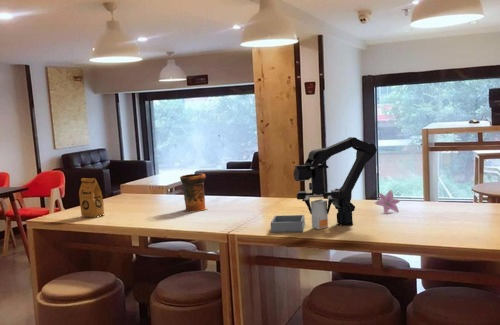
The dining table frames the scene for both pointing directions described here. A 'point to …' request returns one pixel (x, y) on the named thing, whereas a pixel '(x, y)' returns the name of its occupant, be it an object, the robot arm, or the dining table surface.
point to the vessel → (194, 192)
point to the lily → (388, 202)
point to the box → (287, 223)
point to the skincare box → (319, 214)
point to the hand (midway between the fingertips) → (319, 214)
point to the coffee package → (91, 198)
